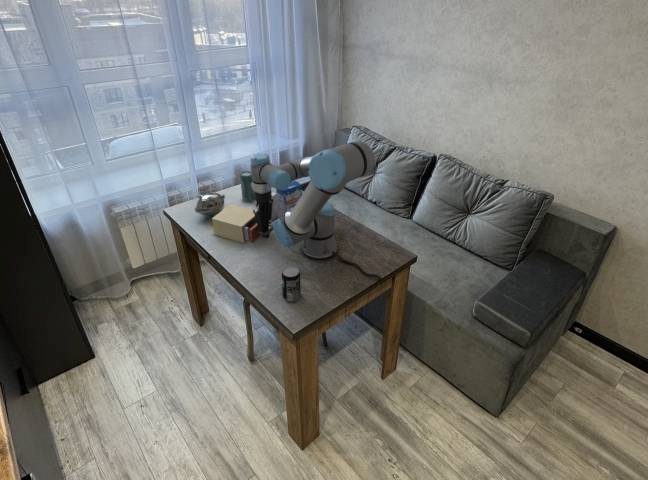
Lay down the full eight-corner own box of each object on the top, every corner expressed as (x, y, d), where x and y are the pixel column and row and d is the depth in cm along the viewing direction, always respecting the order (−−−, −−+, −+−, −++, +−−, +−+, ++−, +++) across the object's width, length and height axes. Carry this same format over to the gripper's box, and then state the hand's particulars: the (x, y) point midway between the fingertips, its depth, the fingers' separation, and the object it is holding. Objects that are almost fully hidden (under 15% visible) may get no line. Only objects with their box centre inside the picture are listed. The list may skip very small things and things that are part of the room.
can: (256, 200, 207) (254, 174, 200) (245, 203, 204) (242, 177, 197) (251, 195, 212) (249, 170, 204) (240, 198, 209) (238, 172, 201)
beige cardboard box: (260, 227, 186) (259, 211, 182) (243, 243, 175) (241, 226, 170) (232, 219, 191) (230, 204, 186) (214, 234, 179) (211, 218, 175)
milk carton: (285, 228, 186) (283, 190, 176) (277, 222, 190) (275, 185, 180) (302, 221, 192) (301, 184, 182) (295, 216, 196) (294, 179, 185)
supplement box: (258, 216, 194) (256, 193, 187) (263, 212, 198) (262, 188, 191) (273, 220, 191) (271, 196, 185) (278, 216, 195) (277, 192, 188)
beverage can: (287, 288, 151) (285, 263, 144) (303, 292, 149) (303, 267, 143) (279, 300, 145) (278, 274, 139) (296, 304, 144) (295, 279, 137)
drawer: (279, 231, 182) (278, 219, 178) (264, 246, 172) (263, 233, 168) (241, 221, 188) (240, 209, 185) (225, 235, 178) (223, 222, 174)
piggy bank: (192, 214, 193) (189, 194, 187) (222, 206, 201) (219, 186, 195) (201, 225, 185) (197, 203, 180) (231, 215, 193) (228, 195, 187)
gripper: (262, 181, 172) (266, 227, 184) (245, 194, 161) (250, 242, 173) (277, 185, 169) (280, 231, 181) (261, 198, 159) (265, 246, 171)
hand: (265, 236), depth 177 cm, fingers closed
